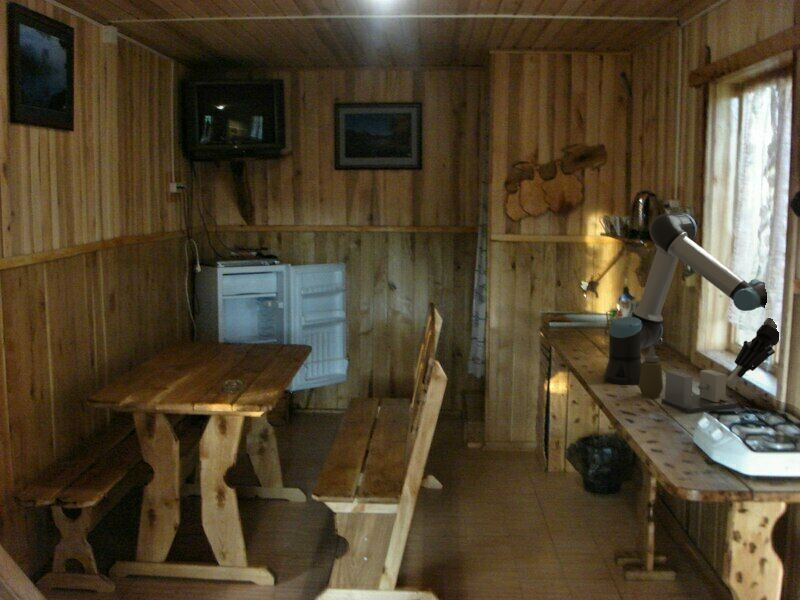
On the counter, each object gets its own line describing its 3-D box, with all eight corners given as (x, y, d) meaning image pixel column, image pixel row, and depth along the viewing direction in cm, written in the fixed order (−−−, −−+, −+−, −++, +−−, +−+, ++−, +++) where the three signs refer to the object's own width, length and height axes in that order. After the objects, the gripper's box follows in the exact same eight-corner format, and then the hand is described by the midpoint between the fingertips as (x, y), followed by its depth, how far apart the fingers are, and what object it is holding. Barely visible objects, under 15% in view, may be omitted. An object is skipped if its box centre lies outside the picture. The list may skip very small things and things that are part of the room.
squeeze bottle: (658, 393, 290) (659, 343, 288) (666, 399, 282) (667, 347, 280) (635, 393, 290) (636, 344, 288) (643, 399, 282) (644, 348, 279)
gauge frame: (661, 403, 277) (662, 370, 275) (708, 397, 283) (709, 365, 281) (687, 413, 264) (688, 378, 262) (736, 408, 269) (737, 373, 268)
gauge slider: (692, 397, 277) (692, 371, 276) (709, 395, 279) (710, 369, 278) (712, 405, 267) (713, 378, 266) (730, 402, 269) (731, 376, 268)
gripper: (792, 340, 274) (750, 394, 271) (764, 334, 286) (723, 385, 283) (780, 326, 271) (737, 379, 268) (752, 320, 284) (711, 371, 281)
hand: (730, 382), depth 276 cm, fingers closed
